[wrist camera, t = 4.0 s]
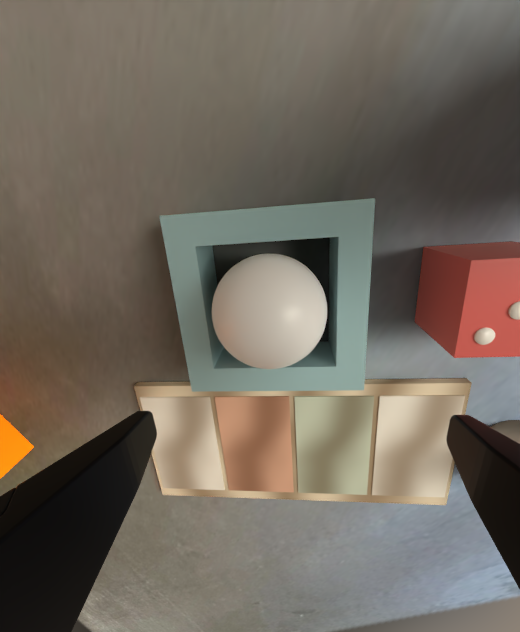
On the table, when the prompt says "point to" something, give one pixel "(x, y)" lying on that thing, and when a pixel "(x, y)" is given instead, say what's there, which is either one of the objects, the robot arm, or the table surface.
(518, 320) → the red die
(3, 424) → the orange juice
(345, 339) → the housing
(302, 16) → the table surface
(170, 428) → the game board
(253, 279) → the white ball
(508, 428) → the pawn
